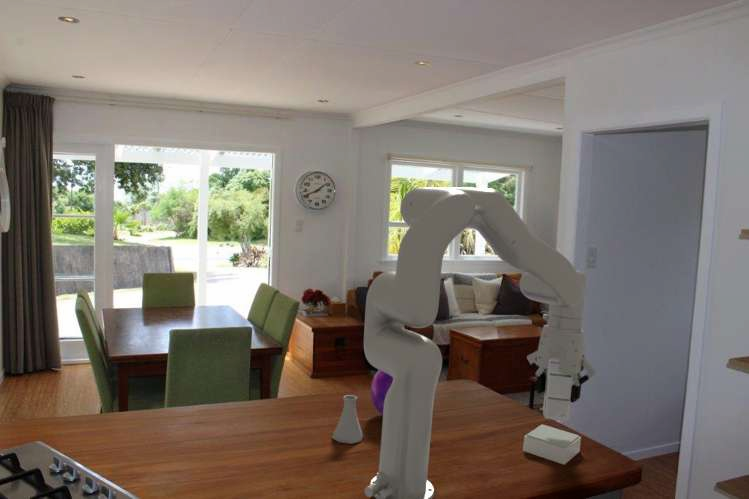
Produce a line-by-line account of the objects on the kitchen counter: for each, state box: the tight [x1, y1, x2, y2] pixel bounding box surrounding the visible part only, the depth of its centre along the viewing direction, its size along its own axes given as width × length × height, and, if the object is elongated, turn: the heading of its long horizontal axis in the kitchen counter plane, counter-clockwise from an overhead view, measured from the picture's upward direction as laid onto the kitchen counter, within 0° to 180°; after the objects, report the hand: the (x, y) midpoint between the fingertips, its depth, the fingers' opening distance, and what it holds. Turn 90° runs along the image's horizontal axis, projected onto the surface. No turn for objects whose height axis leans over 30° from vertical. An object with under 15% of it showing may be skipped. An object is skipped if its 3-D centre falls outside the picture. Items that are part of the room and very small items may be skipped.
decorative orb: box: [370, 369, 393, 416], centre depth 157 cm, size 15×15×15 cm
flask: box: [331, 394, 364, 445], centre depth 143 cm, size 7×7×10 cm
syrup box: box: [542, 358, 574, 422], centre depth 143 cm, size 6×6×14 cm
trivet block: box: [522, 423, 582, 466], centre depth 144 cm, size 10×10×4 cm
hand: (557, 396), depth 143 cm, fingers closed on syrup box, 7 cm apart
